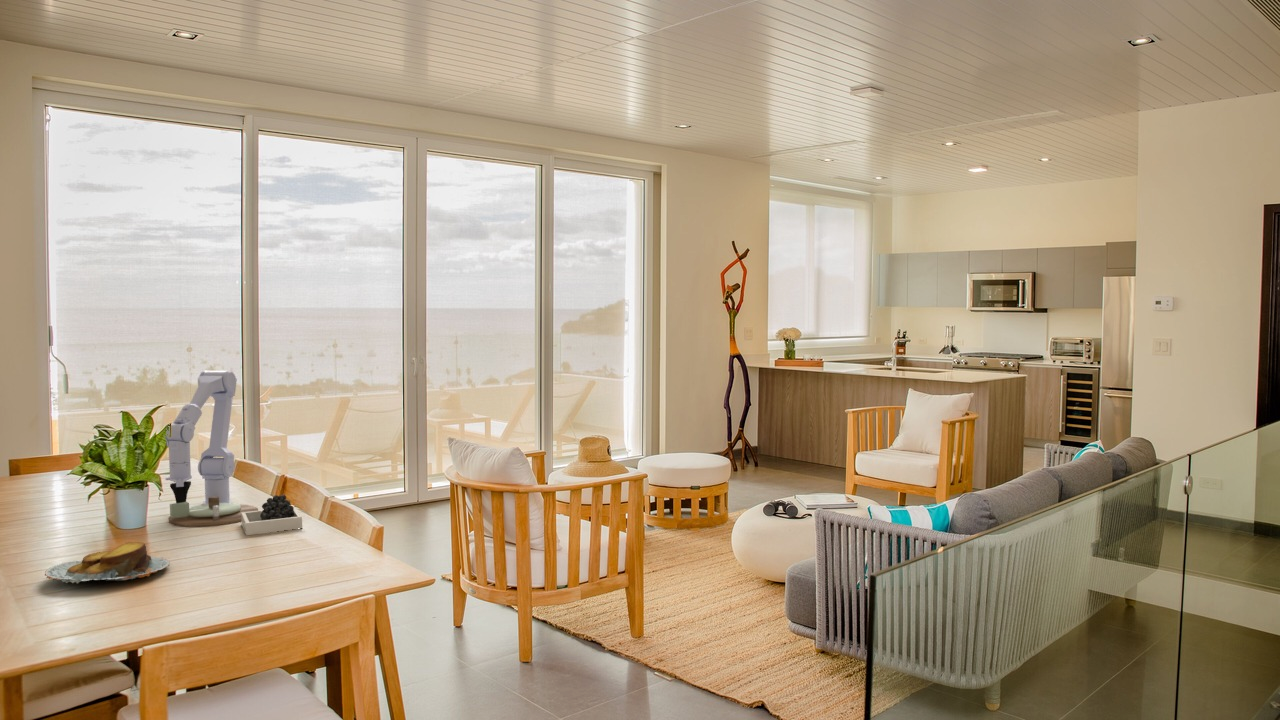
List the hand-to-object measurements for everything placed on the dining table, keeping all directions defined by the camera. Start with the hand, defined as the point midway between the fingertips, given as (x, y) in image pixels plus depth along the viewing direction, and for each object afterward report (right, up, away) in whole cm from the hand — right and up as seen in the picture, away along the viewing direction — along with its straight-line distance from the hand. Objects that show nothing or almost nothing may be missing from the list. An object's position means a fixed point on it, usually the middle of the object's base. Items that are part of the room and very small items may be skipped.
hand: (181, 506), depth 269 cm
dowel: (+14, -4, -6) cm, 16 cm away
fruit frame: (+32, -4, -10) cm, 34 cm away
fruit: (+32, -4, -10) cm, 34 cm away
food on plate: (+13, -8, -57) cm, 59 cm away
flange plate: (+7, -2, 0) cm, 8 cm away
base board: (+9, -4, +2) cm, 10 cm away
